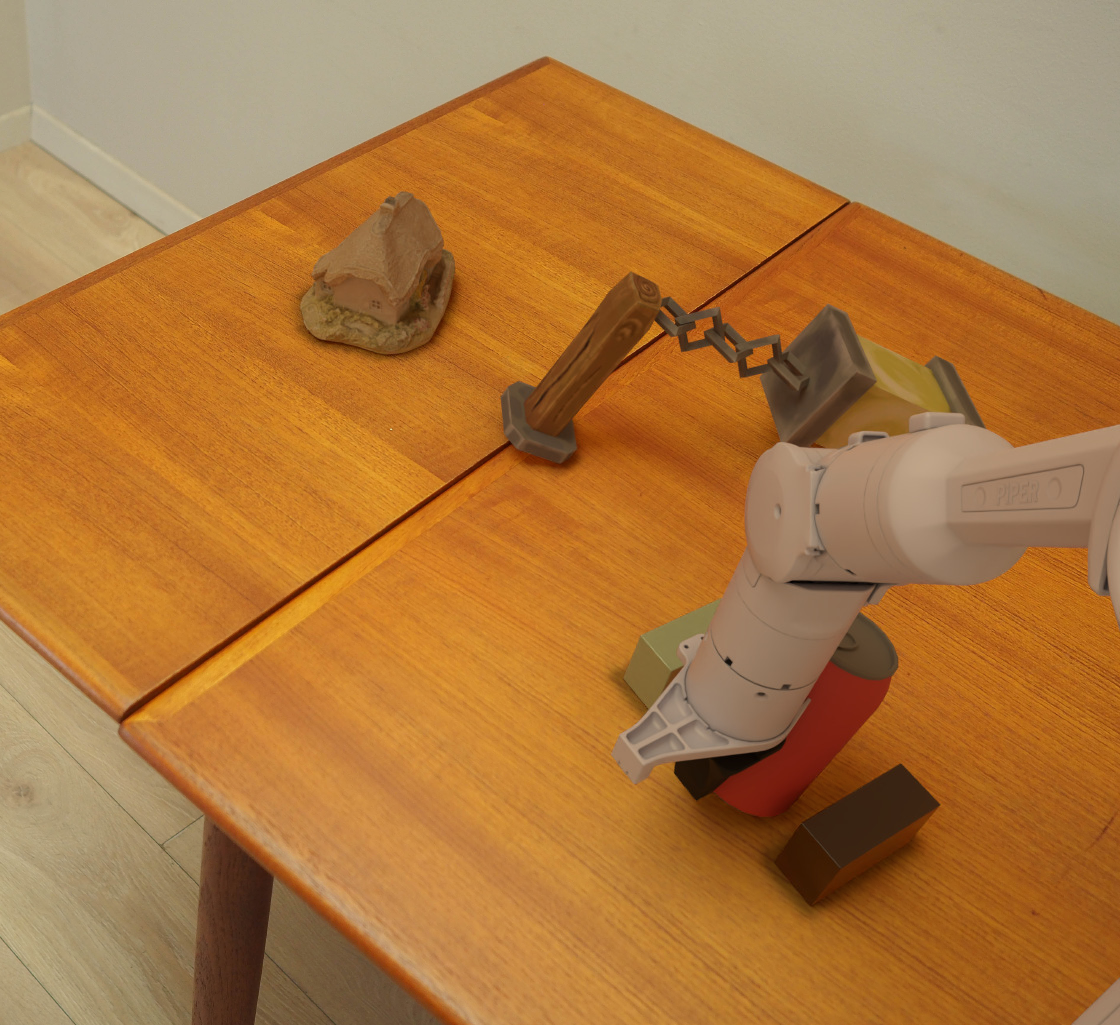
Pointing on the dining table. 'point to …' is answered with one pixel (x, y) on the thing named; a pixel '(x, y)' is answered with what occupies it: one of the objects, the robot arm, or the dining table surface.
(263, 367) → the dining table surface
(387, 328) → the ceramic model
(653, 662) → the ceramic block
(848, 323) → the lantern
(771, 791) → the beer can
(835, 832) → the walnut block
